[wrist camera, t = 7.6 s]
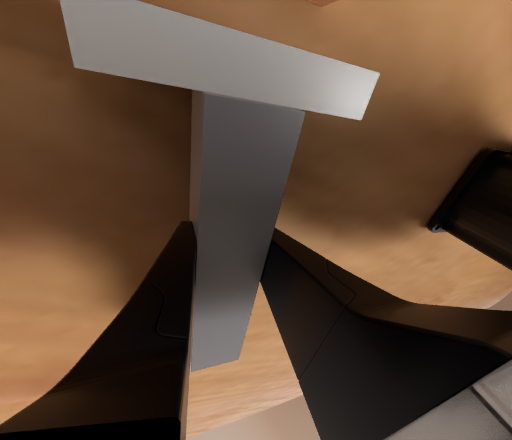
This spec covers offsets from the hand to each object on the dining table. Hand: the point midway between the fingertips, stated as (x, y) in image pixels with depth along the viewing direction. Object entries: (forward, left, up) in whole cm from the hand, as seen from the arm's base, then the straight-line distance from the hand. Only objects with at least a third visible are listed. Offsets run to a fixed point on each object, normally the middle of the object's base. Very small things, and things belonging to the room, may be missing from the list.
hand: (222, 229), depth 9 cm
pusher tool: (-1, 0, -1) cm, 2 cm away
